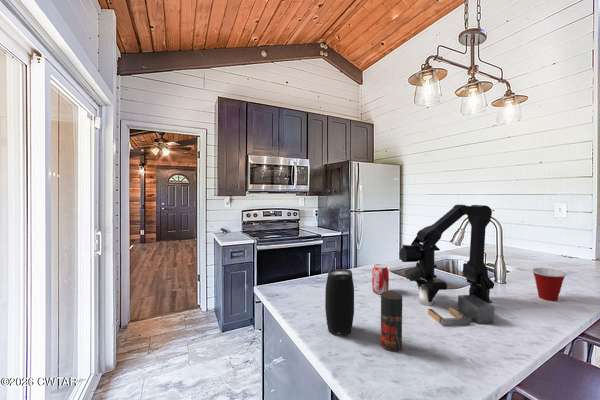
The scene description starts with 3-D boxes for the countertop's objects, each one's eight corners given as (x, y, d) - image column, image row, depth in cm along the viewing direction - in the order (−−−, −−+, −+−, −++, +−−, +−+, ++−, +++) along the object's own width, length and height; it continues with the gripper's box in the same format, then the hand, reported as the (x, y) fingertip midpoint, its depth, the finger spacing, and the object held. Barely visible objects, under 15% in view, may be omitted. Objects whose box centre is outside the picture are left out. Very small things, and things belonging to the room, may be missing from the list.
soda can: (389, 295, 116) (389, 268, 116) (372, 294, 118) (372, 267, 117) (387, 290, 123) (387, 264, 123) (371, 289, 125) (371, 263, 124)
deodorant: (377, 340, 81) (377, 291, 81) (396, 339, 82) (396, 291, 81) (385, 352, 75) (385, 299, 75) (405, 351, 76) (406, 299, 75)
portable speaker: (320, 328, 89) (320, 269, 88) (342, 321, 94) (342, 265, 93) (337, 340, 81) (337, 276, 81) (359, 332, 86) (359, 271, 86)
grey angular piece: (468, 308, 104) (469, 292, 104) (494, 323, 92) (494, 306, 92) (422, 310, 102) (423, 294, 102) (442, 326, 90) (443, 308, 90)
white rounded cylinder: (428, 300, 111) (428, 283, 111) (435, 305, 107) (435, 288, 106) (416, 300, 111) (417, 284, 111) (423, 305, 106) (423, 288, 106)
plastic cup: (525, 296, 116) (526, 268, 116) (538, 292, 121) (539, 265, 120) (558, 305, 106) (558, 275, 106) (570, 301, 111) (571, 272, 110)
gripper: (397, 256, 117) (396, 291, 117) (419, 268, 98) (419, 310, 99) (421, 255, 118) (420, 290, 118) (448, 267, 99) (447, 309, 100)
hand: (425, 299), depth 109 cm, fingers closed on white rounded cylinder, 5 cm apart
